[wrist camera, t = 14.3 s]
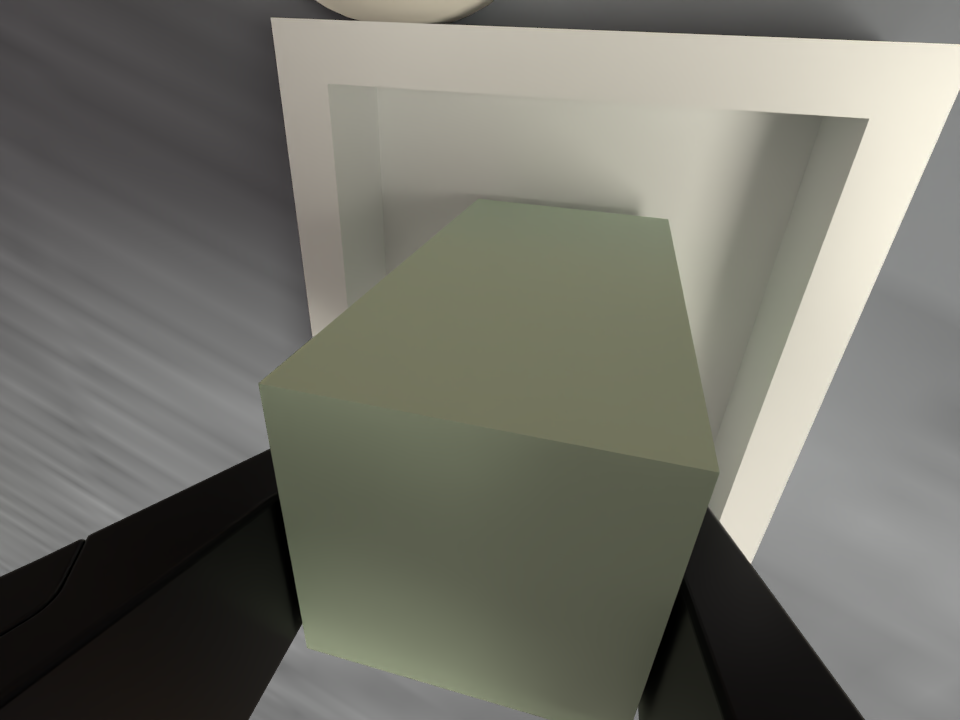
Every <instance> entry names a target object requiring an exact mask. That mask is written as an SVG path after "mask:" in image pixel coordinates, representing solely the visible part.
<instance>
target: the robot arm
mask: <svg viewBox="0 0 960 720" xmlns="http://www.w3.org/2000/svg"><path fill="white" fill-rule="evenodd" d="M301 625H302V617H301V612H300V607H299V601H298V596H297V590H296V585H295V580H294V574H293V569H292V563H291V558H290V552H289V547H288V542H287V536H286V531H285V525H284V520H283V514H282V509H281V504H280V498H279V493H278V487H277V482H276V477H275V471H274V466H273V460H272V455H271V449H268V450H266V451H264V452H262V453H260V454H258V455H256V456H254V457H252V458H250V459H247V460H245V461H243V462H241V463H239V464H237V465H235V466H233V467H231V468H229V469H227V470H224V471H222V472H220V473H218V474H216V475H214V476H212V477H210V478H208V479H206V480H204V481H201V482H199V483H197V484H195V485H193V486H191V487H189V488H187V489H185V490H183V491H181V492H179V493H176V494H174V495H172V496H170V497H168V498H166V499H164V500H162V501H160V502H158V503H156V504H153V505H151V506H149V507H147V508H145V509H143V510H141V511H139V512H137V513H135V514H132V515H130V516H128V517H126V518H124V519H122V520H120V521H118V522H116V523H114V524H112V525H109V526H107V527H105V528H103V529H101V530H99V531H97V532H95V533H93V534H91V535H89V536H88V537H87V539H86V540H83V539H80V540H78V541H76V542H74V543H72V544H70V545H67V546H65V547H63V548H61V549H59V550H57V551H55V552H53V553H51V554H49V555H47V556H44V557H42V558H40V559H38V560H36V561H34V562H31V563H29V564H27V565H25V566H23V567H21V568H18V569H16V570H14V571H12V572H10V573H8V574H5V575H3V576H1V577H0V720H249V718H250V716H251V714H252V712H253V711H254V709H255V707H256V705H257V704H258V702H259V700H260V698H261V696H262V695H263V693H264V691H265V689H266V687H267V686H268V684H269V682H270V680H271V679H272V677H273V675H274V673H275V671H276V670H277V668H278V666H279V664H280V663H281V661H282V659H283V657H284V655H285V654H286V652H287V650H288V648H289V646H290V645H291V643H292V641H293V639H294V638H295V636H296V634H297V632H298V630H299V629H300V627H301ZM638 712H639V720H865V719H864V718H863V716H862V715H861V714H860V712H859V711H858V709H857V708H856V707H855V705H854V704H853V703H852V701H851V700H850V699H849V697H848V696H847V694H846V693H845V692H844V690H843V689H842V688H841V686H840V685H839V684H838V682H837V681H836V679H835V678H834V677H833V675H832V674H831V673H830V671H829V670H828V669H827V667H826V666H825V665H824V663H823V662H822V660H821V659H820V658H819V656H818V655H817V654H816V652H815V651H814V650H813V648H812V647H811V645H810V644H809V643H808V641H807V640H806V639H805V637H804V636H803V635H802V633H801V632H800V630H799V629H798V628H797V626H796V625H795V624H794V622H793V621H792V620H791V618H790V617H789V615H788V614H787V613H786V611H785V610H784V609H783V607H782V606H781V605H780V603H779V602H778V600H777V599H776V598H775V596H774V595H773V594H772V592H771V591H770V590H769V588H768V587H767V585H766V584H765V583H764V581H763V580H762V579H761V577H760V576H759V575H758V573H757V572H756V570H755V569H754V568H753V566H752V565H751V564H750V562H749V561H748V560H747V558H746V557H745V555H744V554H743V553H742V551H741V550H740V549H739V547H738V546H737V545H736V543H735V542H734V541H733V539H732V538H731V536H730V535H729V534H728V532H727V531H726V530H725V528H724V527H723V526H722V524H721V523H720V521H719V520H718V519H717V517H716V516H715V515H714V513H713V512H712V511H711V509H710V508H709V506H708V507H707V510H706V513H705V516H704V519H703V522H702V525H701V527H700V530H699V533H698V536H697V539H696V542H695V545H694V547H693V550H692V553H691V556H690V559H689V562H688V565H687V567H686V570H685V573H684V576H683V579H682V582H681V585H680V587H679V590H678V593H677V596H676V599H675V602H674V605H673V607H672V610H671V613H670V616H669V619H668V622H667V625H666V627H665V630H664V633H663V636H662V639H661V642H660V645H659V648H658V650H657V653H656V656H655V659H654V662H653V665H652V668H651V670H650V673H649V676H648V679H647V682H646V685H645V688H644V690H643V693H642V696H641V699H640V702H639V705H638Z"/></svg>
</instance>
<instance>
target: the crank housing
mask: <svg viewBox="0 0 960 720" xmlns="http://www.w3.org/2000/svg"><path fill="white" fill-rule="evenodd" d="M316 1H317V2H319V3H320V4H322V5H323V6H325V7H326V8H329V9H331V10H333V11H335V12H337V13H339V14H342V15H344V16H346V17H349V18H352V19H356V20H359V21H373V22H399V23H424V24H448V23H451V22H454V21H457V20H459V19H462V18H465V17H467V16H470V15H471V14H473V13H475V12H477V11H479V10H480V9H482V8H484V7H486V6H487V5H489V4H490V3H492V2H493V1H494V0H316Z"/></svg>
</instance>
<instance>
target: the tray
mask: <svg viewBox="0 0 960 720" xmlns="http://www.w3.org/2000/svg"><path fill="white" fill-rule="evenodd" d="M271 24H272V32H273V39H274V47H275V55H276V62H277V70H278V78H279V85H280V93H281V100H282V108H283V116H284V123H285V131H286V139H287V146H288V154H289V162H290V169H291V177H292V184H293V192H294V200H295V207H296V215H297V223H298V230H299V238H300V246H301V253H302V261H303V268H304V276H305V284H306V291H307V299H308V307H309V314H310V322H311V330H312V337H314V336H315V335H317V334H318V333H319V332H320V331H321V330H323V329H324V328H325V327H326V326H327V325H329V324H330V323H331V322H332V321H333V320H335V319H336V318H337V317H338V316H339V315H340V314H342V313H343V312H344V311H345V310H346V309H348V308H349V307H350V306H351V305H352V304H354V303H355V302H356V301H357V300H358V299H360V298H361V297H362V296H363V295H364V294H365V293H367V292H368V291H369V290H370V289H371V288H373V287H374V286H375V285H376V284H377V283H379V282H380V281H381V280H382V279H383V278H385V277H386V276H387V275H388V274H389V273H390V272H392V271H393V270H394V269H395V268H396V267H398V266H399V265H400V264H401V263H402V262H404V261H405V260H406V259H407V258H408V257H410V256H411V255H412V254H413V253H414V252H415V251H417V250H418V249H419V248H420V247H421V246H423V245H424V244H425V243H426V242H427V241H429V240H430V239H431V238H432V237H433V236H435V235H436V234H437V233H438V232H439V231H440V230H442V229H443V228H444V227H445V226H446V225H448V224H449V223H450V222H451V221H452V220H454V219H455V218H456V217H457V216H458V215H460V214H461V213H462V212H463V211H464V210H465V209H467V208H468V207H469V206H470V205H471V204H473V203H474V202H475V201H476V200H477V199H486V200H495V201H505V202H514V203H523V204H532V205H542V206H551V207H560V208H569V209H579V210H588V211H597V212H607V213H616V214H625V215H634V216H644V217H653V218H662V219H668V221H669V225H670V230H671V235H672V240H673V245H674V250H675V255H676V260H677V265H678V270H679V275H680V280H681V285H682V289H683V294H684V299H685V304H686V309H687V314H688V319H689V324H690V329H691V334H692V339H693V344H694V349H695V353H696V358H697V363H698V368H699V373H700V378H701V383H702V388H703V393H704V398H705V403H706V408H707V413H708V418H709V422H710V427H711V432H712V437H713V442H714V447H715V452H716V457H717V462H718V467H719V472H720V473H719V476H718V479H717V482H716V485H715V487H714V490H713V493H712V496H711V499H710V502H709V505H708V506H709V508H710V509H711V511H712V512H713V513H714V515H715V516H716V517H717V519H718V520H719V521H720V523H721V524H722V526H723V527H724V528H725V530H726V531H727V532H728V534H729V535H730V536H731V538H732V539H733V541H734V542H735V543H736V545H737V546H738V547H739V549H740V550H741V551H742V553H743V554H744V555H745V557H746V558H747V560H748V561H749V562H750V564H751V563H752V560H753V558H754V556H755V554H756V551H757V549H758V547H759V544H760V542H761V540H762V538H763V535H764V533H765V531H766V529H767V526H768V524H769V522H770V519H771V517H772V515H773V513H774V510H775V508H776V506H777V504H778V501H779V499H780V497H781V494H782V492H783V490H784V488H785V485H786V483H787V481H788V478H789V476H790V474H791V472H792V469H793V467H794V465H795V463H796V460H797V458H798V456H799V453H800V451H801V449H802V447H803V444H804V442H805V440H806V438H807V435H808V433H809V431H810V428H811V426H812V424H813V422H814V419H815V417H816V415H817V412H818V410H819V408H820V406H821V403H822V401H823V399H824V397H825V394H826V392H827V390H828V387H829V385H830V383H831V381H832V378H833V376H834V374H835V372H836V369H837V367H838V365H839V362H840V360H841V358H842V356H843V353H844V351H845V349H846V347H847V344H848V342H849V340H850V337H851V335H852V333H853V331H854V328H855V326H856V324H857V321H858V319H859V317H860V315H861V312H862V310H863V308H864V306H865V303H866V301H867V299H868V296H869V294H870V292H871V290H872V287H873V285H874V283H875V281H876V278H877V276H878V274H879V271H880V269H881V267H882V265H883V262H884V260H885V258H886V256H887V253H888V251H889V249H890V246H891V244H892V242H893V240H894V237H895V235H896V233H897V230H898V228H899V226H900V224H901V221H902V219H903V217H904V215H905V212H906V210H907V208H908V205H909V203H910V201H911V199H912V196H913V194H914V192H915V190H916V187H917V185H918V183H919V180H920V178H921V176H922V174H923V171H924V169H925V167H926V165H927V162H928V160H929V158H930V155H931V153H932V151H933V149H934V146H935V144H936V142H937V139H938V137H939V135H940V133H941V130H942V128H943V126H944V124H945V121H946V119H947V117H948V114H949V112H950V110H951V108H952V105H953V103H954V101H955V99H956V96H957V94H958V92H959V89H960V44H935V43H909V42H884V41H858V40H833V39H807V38H782V37H756V36H731V35H705V34H680V33H654V32H629V31H603V30H578V29H552V28H526V27H501V26H475V25H450V24H424V23H399V22H373V21H348V20H322V19H297V18H271Z"/></svg>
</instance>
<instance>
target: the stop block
mask: <svg viewBox="0 0 960 720" xmlns="http://www.w3.org/2000/svg"><path fill="white" fill-rule="evenodd" d="M258 384H259V390H260V395H261V401H262V406H263V411H264V417H265V422H266V428H267V433H268V439H269V444H270V449H271V455H272V460H273V466H274V471H275V477H276V482H277V487H278V493H279V498H280V504H281V509H282V514H283V520H284V525H285V531H286V536H287V542H288V547H289V552H290V558H291V563H292V569H293V574H294V580H295V585H296V590H297V596H298V601H299V607H300V612H301V617H302V623H303V628H304V634H305V639H306V645H307V648H309V649H312V650H316V651H319V652H322V653H326V654H329V655H333V656H336V657H339V658H343V659H346V660H350V661H353V662H356V663H360V664H363V665H366V666H370V667H373V668H377V669H380V670H383V671H387V672H390V673H394V674H397V675H400V676H404V677H407V678H410V679H414V680H417V681H421V682H424V683H427V684H431V685H434V686H438V687H441V688H444V689H448V690H451V691H454V692H458V693H461V694H465V695H468V696H471V697H475V698H478V699H482V700H485V701H488V702H492V703H495V704H498V705H502V706H505V707H509V708H512V709H515V710H519V711H522V712H526V713H529V714H532V715H536V716H539V717H543V718H546V719H549V720H633V719H634V716H635V713H636V710H637V708H638V705H639V702H640V699H641V696H642V693H643V690H644V688H645V685H646V682H647V679H648V676H649V673H650V670H651V668H652V665H653V662H654V659H655V656H656V653H657V650H658V648H659V645H660V642H661V639H662V636H663V633H664V630H665V627H666V625H667V622H668V619H669V616H670V613H671V610H672V607H673V605H674V602H675V599H676V596H677V593H678V590H679V587H680V585H681V582H682V579H683V576H684V573H685V570H686V567H687V565H688V562H689V559H690V556H691V553H692V550H693V547H694V545H695V542H696V539H697V536H698V533H699V530H700V527H701V525H702V522H703V519H704V516H705V513H706V510H707V507H708V505H709V502H710V499H711V496H712V493H713V490H714V487H715V485H716V482H717V479H718V476H719V473H720V472H719V467H718V462H717V457H716V452H715V447H714V442H713V437H712V432H711V427H710V422H709V418H708V413H707V408H706V403H705V398H704V393H703V388H702V383H701V378H700V373H699V368H698V363H697V358H696V353H695V349H694V344H693V339H692V334H691V329H690V324H689V319H688V314H687V309H686V304H685V299H684V294H683V289H682V285H681V280H680V275H679V270H678V265H677V260H676V255H675V250H674V245H673V240H672V235H671V230H670V225H669V221H668V219H662V218H653V217H644V216H634V215H625V214H616V213H607V212H597V211H588V210H579V209H569V208H560V207H551V206H542V205H532V204H523V203H514V202H505V201H495V200H486V199H477V200H476V201H475V202H474V203H473V204H471V205H470V206H469V207H468V208H467V209H465V210H464V211H463V212H462V213H461V214H460V215H458V216H457V217H456V218H455V219H454V220H452V221H451V222H450V223H449V224H448V225H446V226H445V227H444V228H443V229H442V230H440V231H439V232H438V233H437V234H436V235H435V236H433V237H432V238H431V239H430V240H429V241H427V242H426V243H425V244H424V245H423V246H421V247H420V248H419V249H418V250H417V251H415V252H414V253H413V254H412V255H411V256H410V257H408V258H407V259H406V260H405V261H404V262H402V263H401V264H400V265H399V266H398V267H396V268H395V269H394V270H393V271H392V272H390V273H389V274H388V275H387V276H386V277H385V278H383V279H382V280H381V281H380V282H379V283H377V284H376V285H375V286H374V287H373V288H371V289H370V290H369V291H368V292H367V293H365V294H364V295H363V296H362V297H361V298H360V299H358V300H357V301H356V302H355V303H354V304H352V305H351V306H350V307H349V308H348V309H346V310H345V311H344V312H343V313H342V314H340V315H339V316H338V317H337V318H336V319H335V320H333V321H332V322H331V323H330V324H329V325H327V326H326V327H325V328H324V329H323V330H321V331H320V332H319V333H318V334H317V335H315V336H314V337H313V338H312V339H311V340H310V341H308V342H307V343H306V344H305V345H304V346H302V347H301V348H300V349H299V350H298V351H296V352H295V353H294V354H293V355H292V356H290V357H289V358H288V359H287V360H286V361H285V362H283V363H282V364H281V365H280V366H279V367H277V368H276V369H275V370H274V371H273V372H271V373H270V374H269V375H268V376H267V377H265V378H264V379H263V380H262V381H261V382H260V383H258Z"/></svg>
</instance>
